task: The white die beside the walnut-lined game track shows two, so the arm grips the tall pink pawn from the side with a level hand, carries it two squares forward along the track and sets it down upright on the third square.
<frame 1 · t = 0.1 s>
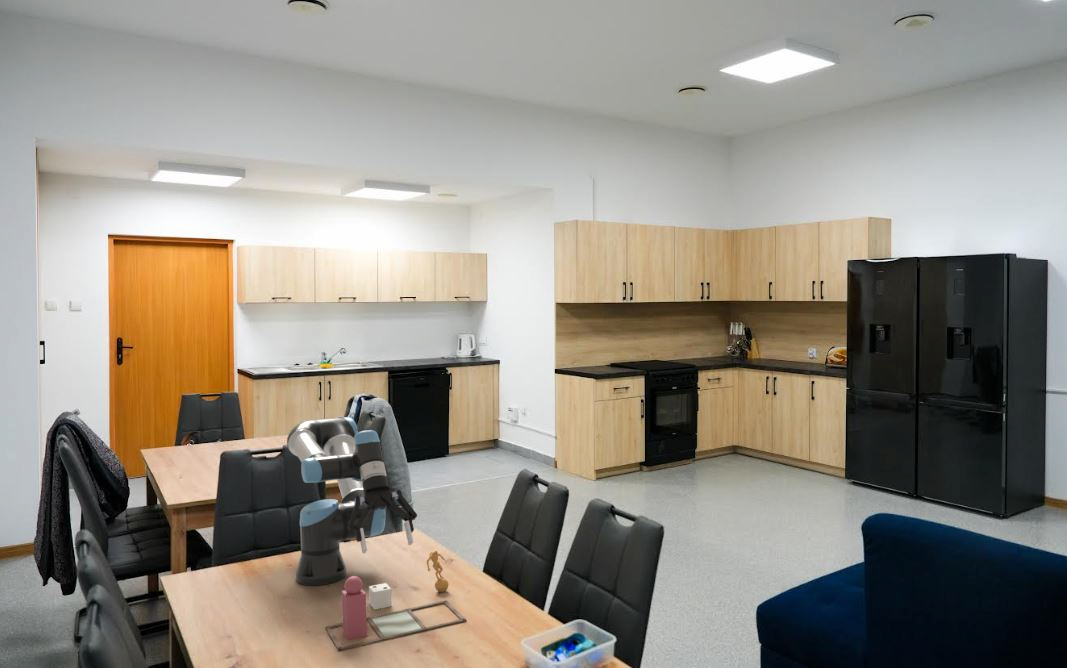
hand: (388, 547, 213), 15 cm above the table, tool tilted 35°, fingers open, 13 cm apart
figurine: (439, 591, 220), on the table
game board: (396, 624, 197), on the table
die: (380, 604, 210), on the table
pawn: (355, 634, 192), resting in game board
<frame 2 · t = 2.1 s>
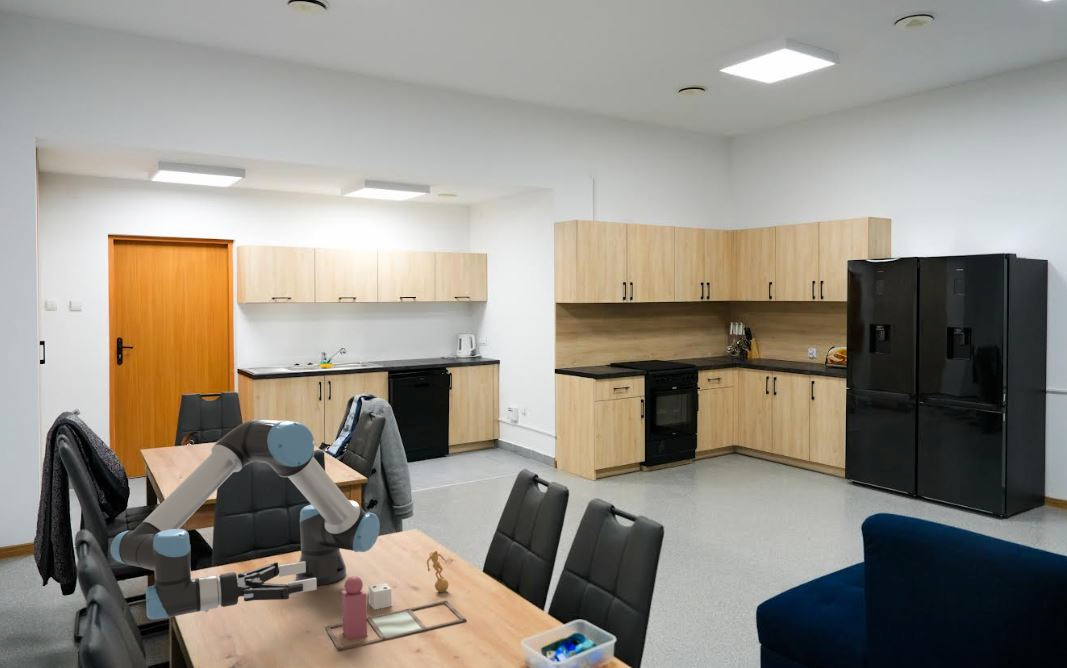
hand: (310, 574, 186), 18 cm above the table, tool horizontal, fingers open, 13 cm apart
nothing on the table moved.
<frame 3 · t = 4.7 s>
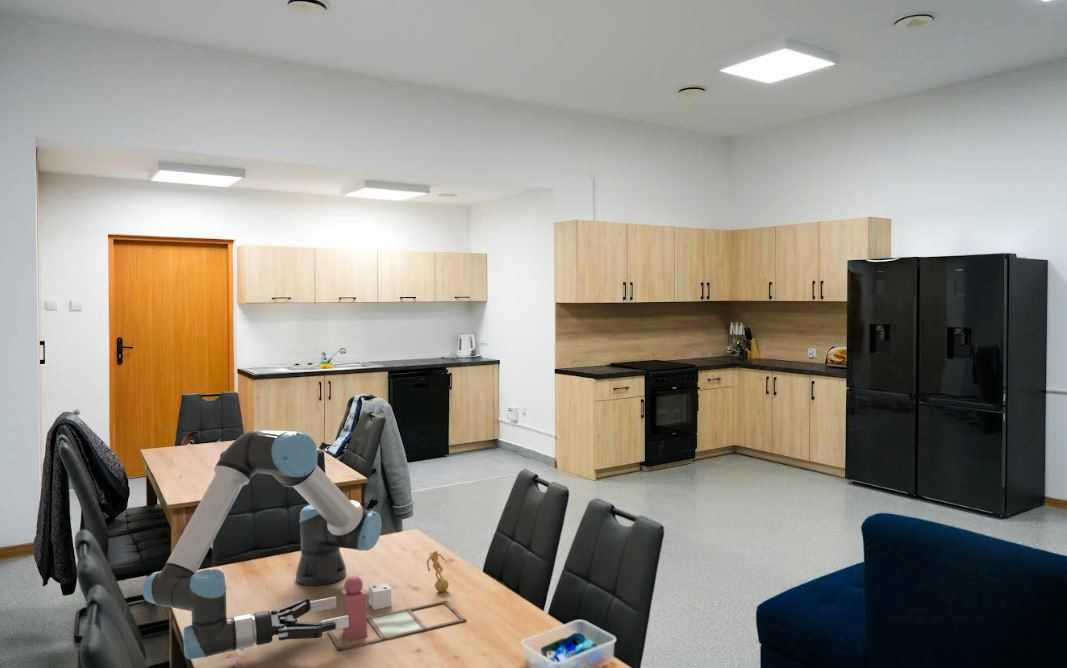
hand: (342, 611, 190), 7 cm above the table, tool horizontal, fingers open, 13 cm apart
nothing on the table moved.
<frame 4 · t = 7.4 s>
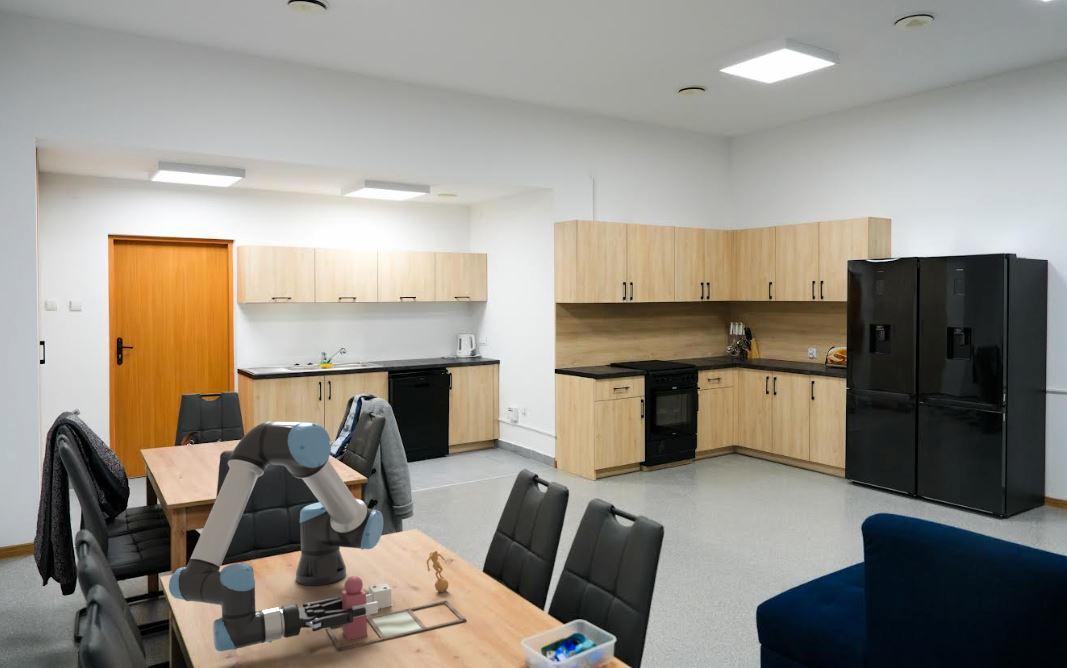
hand: (374, 603, 194), 7 cm above the table, tool horizontal, fingers closed on pawn, 5 cm apart
pawn: (355, 634, 192), resting in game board, touching gripper
everything else where it was.
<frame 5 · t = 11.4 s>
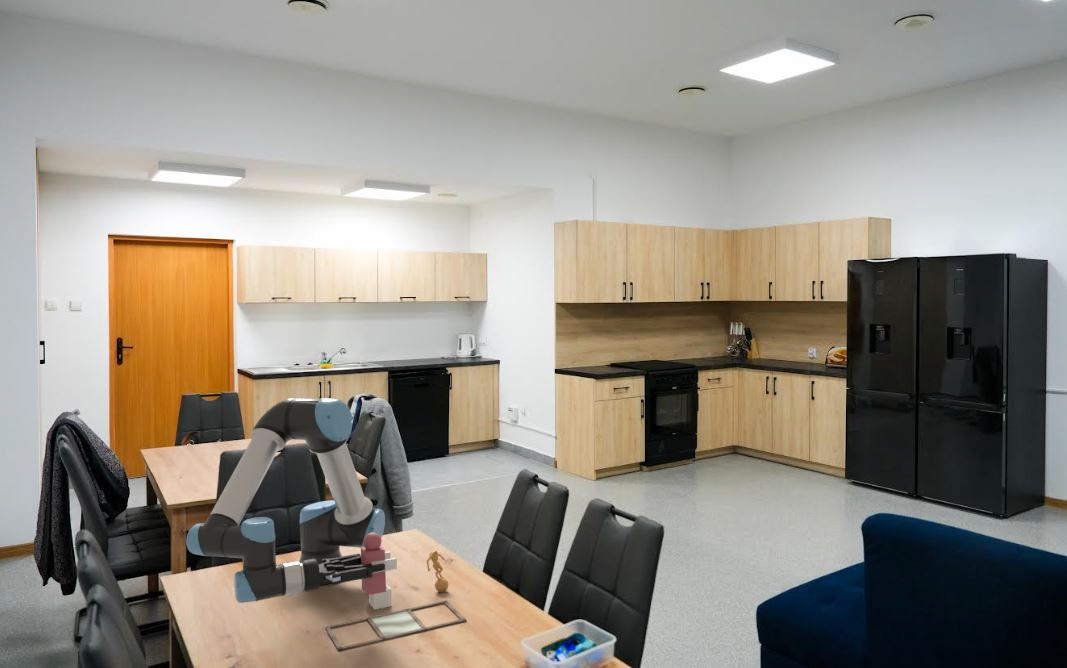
hand: (392, 560, 195), 18 cm above the table, tool horizontal, fingers closed on pawn, 5 cm apart
pawn: (373, 590, 193), point 11 cm above the table, touching gripper
everything else where it was.
when the fingers open (9 cm above the table, at t = 15.4 s): pawn drops 1 cm, resting in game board.
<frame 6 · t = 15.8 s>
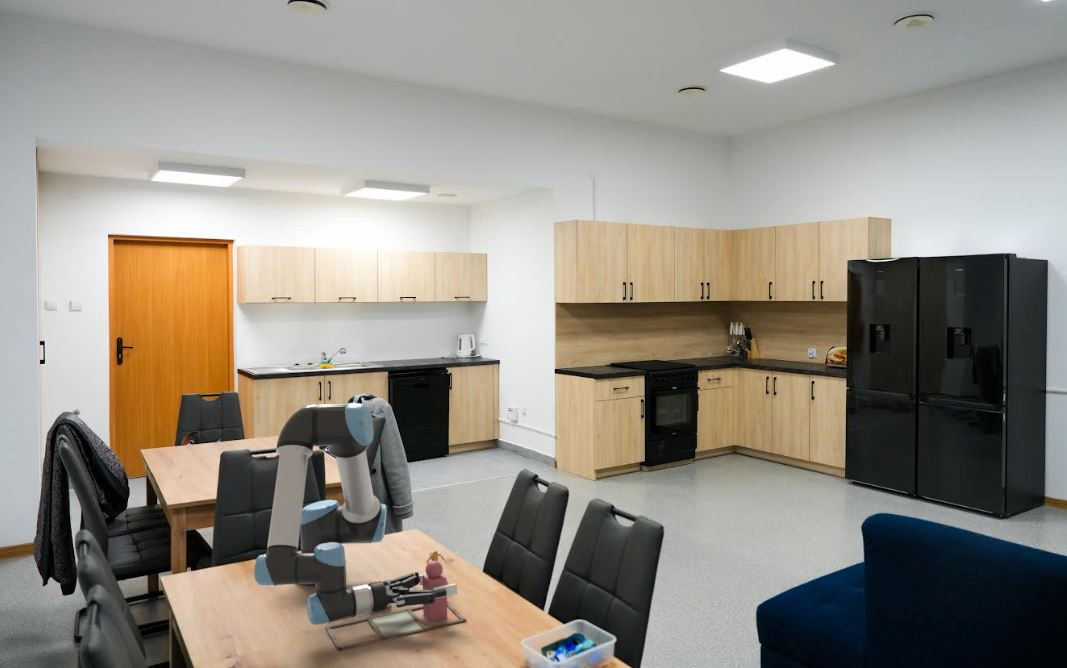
hand: (449, 582, 204), 8 cm above the table, tool horizontal, fingers open, 10 cm apart
pawn: (435, 615, 202), resting in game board
everything else where it was.
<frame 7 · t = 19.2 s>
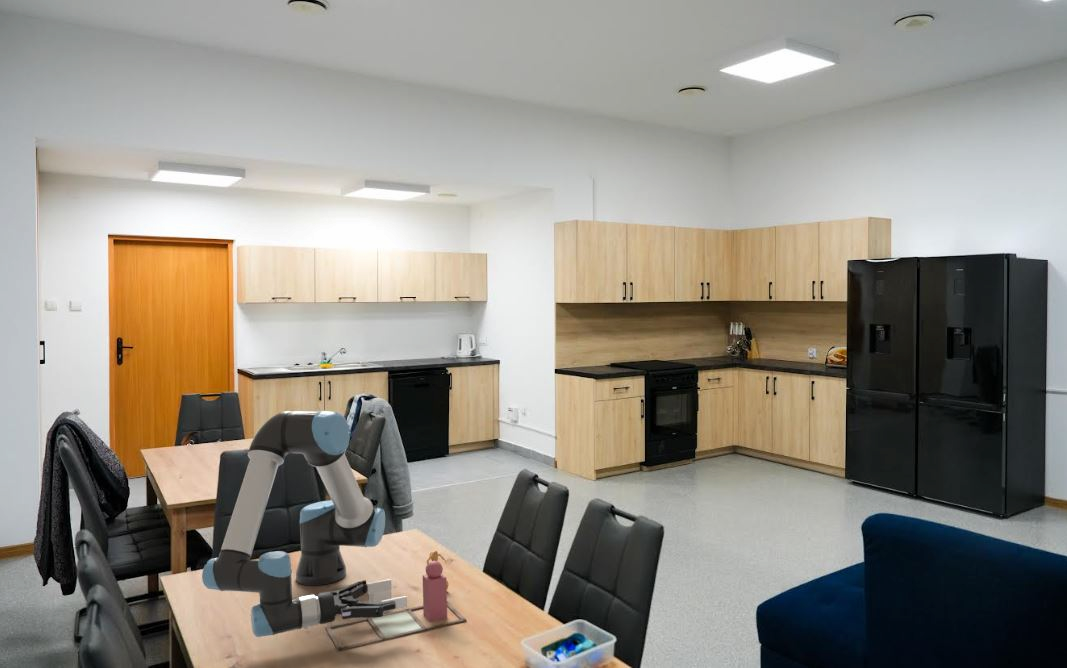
hand: (398, 592, 197), 9 cm above the table, tool horizontal, fingers open, 13 cm apart
nothing on the table moved.
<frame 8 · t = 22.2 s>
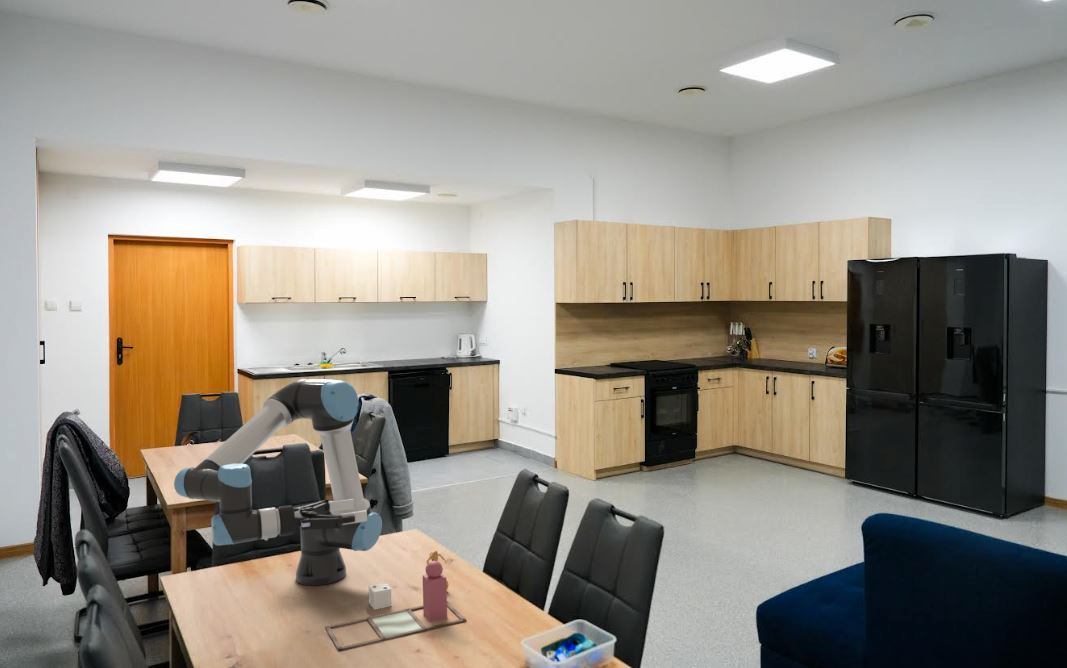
hand: (360, 509, 200), 30 cm above the table, tool horizontal, fingers open, 13 cm apart
nothing on the table moved.
at the end: pawn inside the target area on the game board (0.5 cm from its centre), point 0.0 cm above the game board's base; pawn tilted 0°; the gripper is holding nothing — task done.
